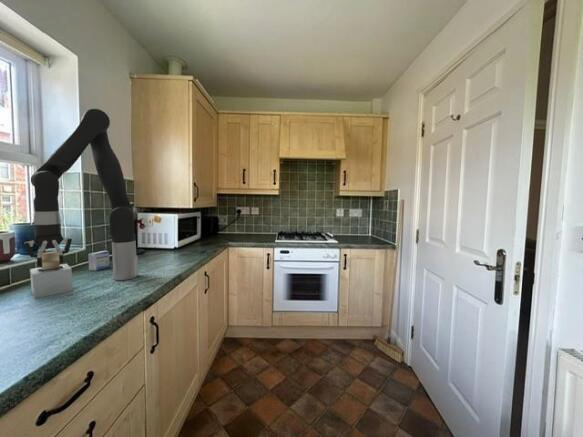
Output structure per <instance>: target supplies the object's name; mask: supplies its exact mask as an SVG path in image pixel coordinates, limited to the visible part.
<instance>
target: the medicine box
mask: <svg viewBox="0 0 583 437" xmlns="http://www.w3.org/2000/svg"><path fill="white" fill-rule="evenodd" d="M87 255H88V256H87V258H88V270H89V271H99V270H103V269H107V268H109V267H110V252H109V251H108V250H101V251H96V252H91V253H88V254H87Z"/></svg>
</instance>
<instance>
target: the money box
mask: <svg viewBox="0 0 583 437" xmlns="http://www.w3.org/2000/svg"><path fill="white" fill-rule="evenodd" d="M72 272H73V271H72V267H71V266H70V265H68V263H61V265H60V267H58V268H52V269H45V270H42V267H40V266H39V267H35V268H29V274H30V288H31V293H32V296H33V298H34V299H38V298H43V297H48V296H53V295H57V294H62V293H68V292H72V291H73V290H74V288H73V287H74V286H73V273H72Z"/></svg>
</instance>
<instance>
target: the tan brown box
mask: <svg viewBox="0 0 583 437" xmlns="http://www.w3.org/2000/svg"><path fill="white" fill-rule="evenodd" d="M41 257H42V270H45V269H52V268H58V267H60V261H59V252H57V251H50V252H43V254H41Z"/></svg>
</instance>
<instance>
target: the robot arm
mask: <svg viewBox="0 0 583 437" xmlns="http://www.w3.org/2000/svg"><path fill="white" fill-rule="evenodd" d="M80 120H81V121H80V122H79V124H78V126H77V127H76V128H75V130H74V131H73V132H72V133H71V134H70V135H69V136H68V137H67V139H66V140H65V141H63V142H62V143H61V144H60V145H59V147H57V148H56V150H55V151H54V152H53V153H52V154H51V155H50V156H49V158H48V159H47V160H46V161H45V162H44V163H43V164H42V165H41V166H40V167H39V168H37V170H35V172H34V173H33V174H32V175H31V176H30V183H31V185H32V186H33V187H34V196H35V197H34V198H33V228H34V238H33V240H30V241H25V242H24V243H23V244H24V247H25V249H26V250H27V252H28V255H29V257H31V258H36V264H37V267H39V268H40V267H42V257H41V254H43V253H45V252H44V251H45V250H48V249H55V252H59V261H60V265H61V264H64V255H65V254H69V253H70V252H69V251H70V248H71V245H72V240H73V239H72V238H70V237H63V235H62V223H61V222H62V219H61V214H60V208H59V207H60V205H59V192H60V178H62V176H63V174H65V173H67V172H68V171H69V170H70V169H71V168H72V167H73V165H75V164H76V162H77V160H79V158H80V157H81V156H82V155H83V153H84V151H85V150H86V148H87V147H89V146H90V149H91V154H92V158H93V162H94V166H95V170H96V173H97V175H98V176H97V177H98V180H99V181H100V183H101V185H102V187H103V190H104V191H105V193H106V194H107V196H108V199H109V202H110V207H111V212H110V213H109V217H108V218H109V220H108V221H109V233H110V234H109V235H110V238H111V252H112V253H111V254H112V275H113V276H112V277H113V280H115V281H126V280H133V279H136V278H137V277H138V276H139V258H138V256H139V255H137V247H136V243H137V242H136V239H137V238H136V234H135V232H136V231H135V219H136V214H135V211H134V209H133V206H132V204H131V201H130V199H129V196H128V193H127V186H126V181H125V176H124V172H123V169H122V166H121V163H120V161H119V158H118V157H117V155H116V154H115V152H114V150H113V148H112V147H111V144H110V140H109V135H108V129H109V128H110V125H111V120H110V117H109V116H108V114H107V113H106V112H105V111H103V110H101V109H99V108H90V109H88V110H86V111H85V112H83V114H82V117H81V119H80ZM62 242H64V244H65V245H64V249H63V250H62V249H61V247H60V244H61V243H62ZM34 244H35V245H36V246H38V250H37V253H34V250H33V248H32V247H33V246H34Z"/></svg>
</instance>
